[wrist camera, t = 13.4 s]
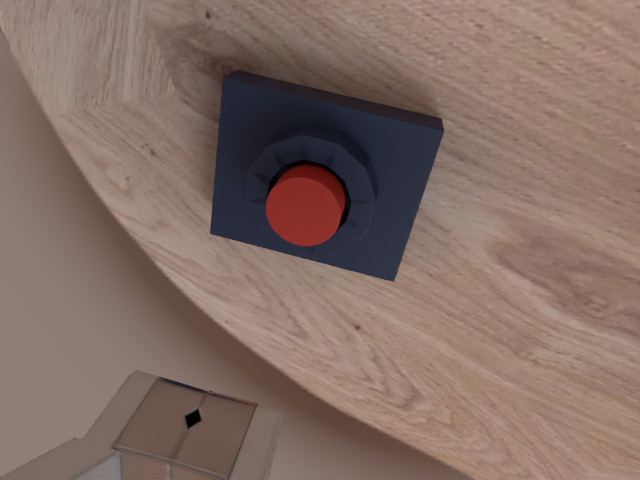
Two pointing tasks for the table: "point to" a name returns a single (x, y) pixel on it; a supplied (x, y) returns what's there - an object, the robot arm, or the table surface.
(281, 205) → the button
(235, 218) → the control block
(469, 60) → the table surface
